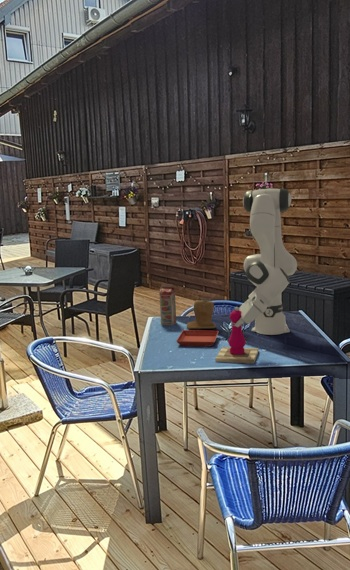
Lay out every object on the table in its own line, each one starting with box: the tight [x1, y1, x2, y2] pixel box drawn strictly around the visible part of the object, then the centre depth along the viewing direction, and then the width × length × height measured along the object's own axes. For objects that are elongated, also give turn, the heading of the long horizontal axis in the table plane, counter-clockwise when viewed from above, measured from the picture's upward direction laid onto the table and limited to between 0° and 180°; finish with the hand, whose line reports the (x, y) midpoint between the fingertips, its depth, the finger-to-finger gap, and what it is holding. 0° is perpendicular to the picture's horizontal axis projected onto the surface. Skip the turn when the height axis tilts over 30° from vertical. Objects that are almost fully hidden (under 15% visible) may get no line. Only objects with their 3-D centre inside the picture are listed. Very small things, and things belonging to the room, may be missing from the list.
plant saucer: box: [176, 329, 220, 347], centre depth 244 cm, size 18×18×3 cm
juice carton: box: [158, 283, 177, 326], centre depth 278 cm, size 7×7×22 cm
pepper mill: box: [228, 306, 246, 355], centre depth 217 cm, size 7×7×20 cm
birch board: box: [215, 346, 259, 364], centre depth 219 cm, size 16×16×2 cm
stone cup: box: [186, 299, 217, 330], centre depth 267 cm, size 15×12×15 cm
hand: (235, 323), depth 217 cm, fingers closed on pepper mill, 5 cm apart
